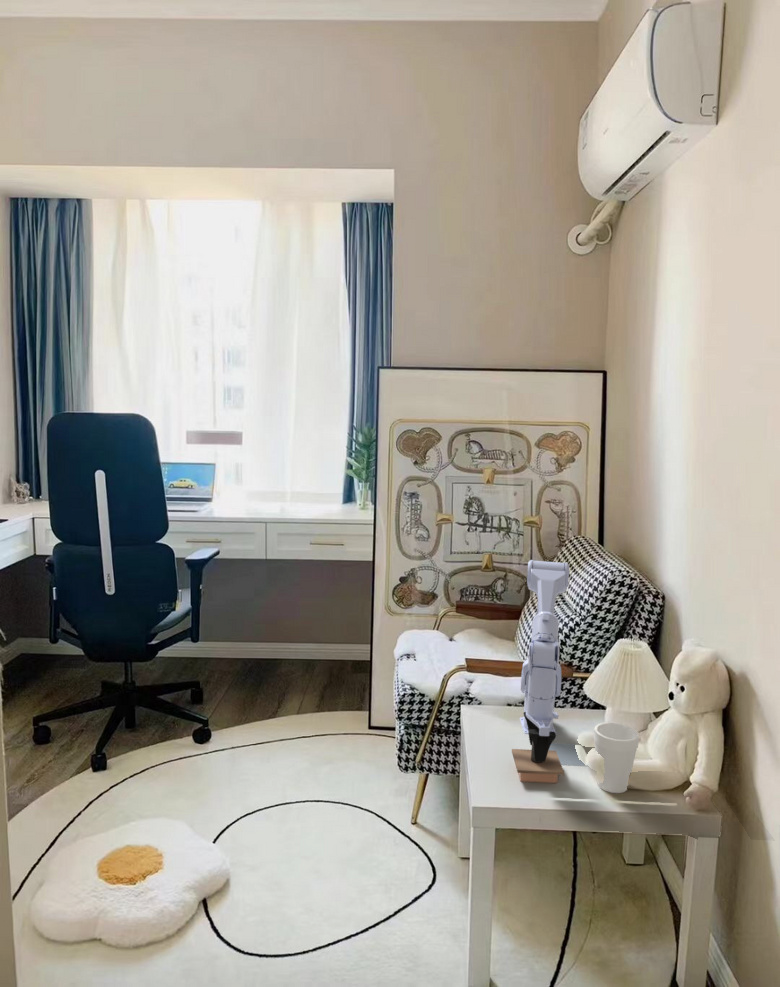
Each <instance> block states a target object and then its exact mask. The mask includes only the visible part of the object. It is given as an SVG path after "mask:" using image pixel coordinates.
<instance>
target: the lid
mask: <svg viewBox="0 0 780 987" xmlns="http://www.w3.org/2000/svg"><path fill="white" fill-rule="evenodd" d="M511 754H512V757H513V760H514V764H515V769H516V772H517V773H535V774H558V775H559V776H560V775H565V772H564V768H563V765H561V763H560V761H559V758H558V755H557V753H556V751H550V750H548V754H547V757H546V760H545V762H542V761H535V757H534V748H533V742H532V745H531V749H522V748H520V749H519V748H512V749H511Z"/></svg>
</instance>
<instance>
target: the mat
mask: <svg viewBox="0 0 780 987" xmlns="http://www.w3.org/2000/svg"><path fill="white" fill-rule="evenodd" d="M575 744H576V743H563V742H562V743H561V742H560V743H559V742H552V743H551V745H550V747H549V750H550V751H556V753H557V755H558V758H559V761H560V763H561V766H573V767H575V766H576V767H586V766H585V764H584V763H583V762H582V761H581V760H579V758H578V755H577V752H576V749H575Z"/></svg>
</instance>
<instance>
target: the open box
mask: <svg viewBox="0 0 780 987" xmlns="http://www.w3.org/2000/svg"><path fill="white" fill-rule="evenodd" d="M517 773H518V772H517ZM558 776H559V774H535V773H518V777H519V781H520V782H522V783H523V782H524V783H547V784H549V783H550V784H558Z"/></svg>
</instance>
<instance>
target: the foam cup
mask: <svg viewBox="0 0 780 987" xmlns="http://www.w3.org/2000/svg"><path fill="white" fill-rule="evenodd" d="M593 732H594V733H593V741H594V752H595V751H597V752H598V754H600V755H601V756H602V757H603V758H604V762H605V763H604V766H605V767H604V768H605V769H604V770H605V773H604V781H603V783H599V784H598V783H597V782H596V785H597V786H598V787H599V789H601V790H603V791H605V792H608V793H610V794H611V793H612V794H621V793H625V792H626V791H628V789H627V783H628V778H629V775H630V773H631V774H632V771H633V767H634V761H635V757H636V754H637V749H638V747H639V741H640V740H639V739H640V733H639V731H637V729H636V728H634V727H632V726H630V725H628V724H624V723H621V722H613V721H612V722H611V721H606V722H605V721H604V722H599V723H598V724H596V725H594V729H593Z"/></svg>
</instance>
